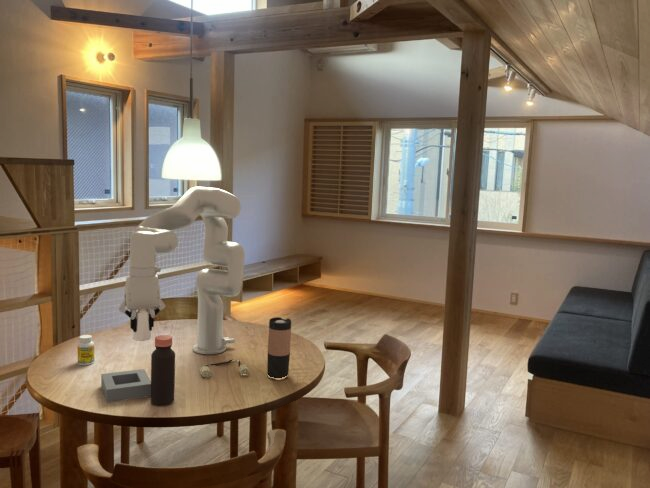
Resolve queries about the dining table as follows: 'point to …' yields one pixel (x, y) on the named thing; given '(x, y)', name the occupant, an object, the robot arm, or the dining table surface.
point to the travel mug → (279, 347)
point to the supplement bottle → (85, 350)
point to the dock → (125, 385)
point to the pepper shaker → (142, 326)
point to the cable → (206, 372)
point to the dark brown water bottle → (162, 371)
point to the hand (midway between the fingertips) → (142, 329)
